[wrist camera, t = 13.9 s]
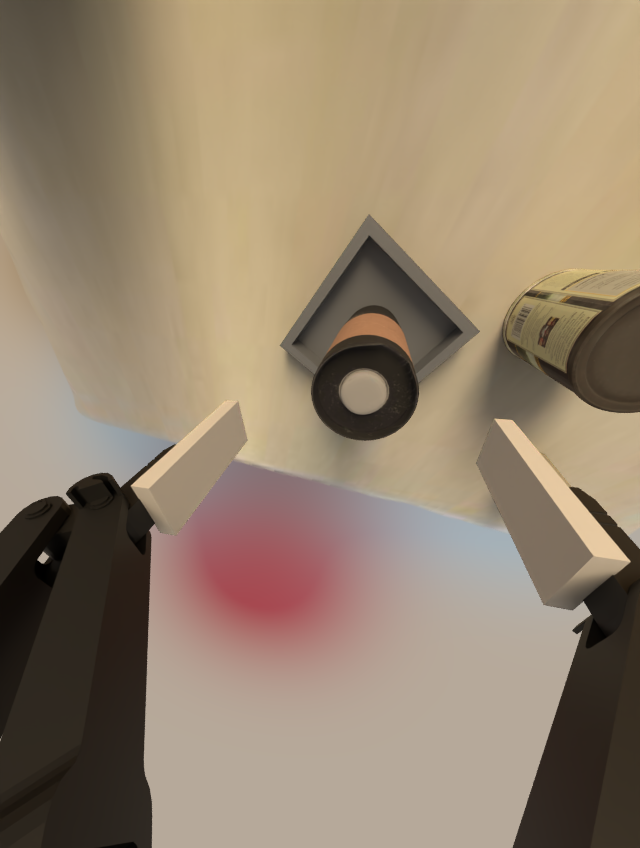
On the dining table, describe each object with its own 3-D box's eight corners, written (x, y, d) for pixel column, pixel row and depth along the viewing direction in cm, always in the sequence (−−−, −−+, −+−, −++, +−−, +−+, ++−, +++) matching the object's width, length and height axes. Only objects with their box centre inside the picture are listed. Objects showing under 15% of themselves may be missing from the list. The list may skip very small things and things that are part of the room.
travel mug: (349, 365, 37) (324, 447, 20) (337, 311, 33) (295, 356, 17) (403, 354, 34) (425, 436, 18) (397, 295, 31) (416, 328, 14)
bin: (288, 338, 38) (279, 345, 34) (370, 220, 28) (369, 214, 25) (372, 409, 41) (371, 422, 38) (469, 324, 32) (479, 331, 28)
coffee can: (607, 342, 30) (751, 391, 18) (506, 371, 34) (571, 426, 22) (614, 247, 26) (809, 232, 14) (497, 293, 29) (573, 311, 18)
